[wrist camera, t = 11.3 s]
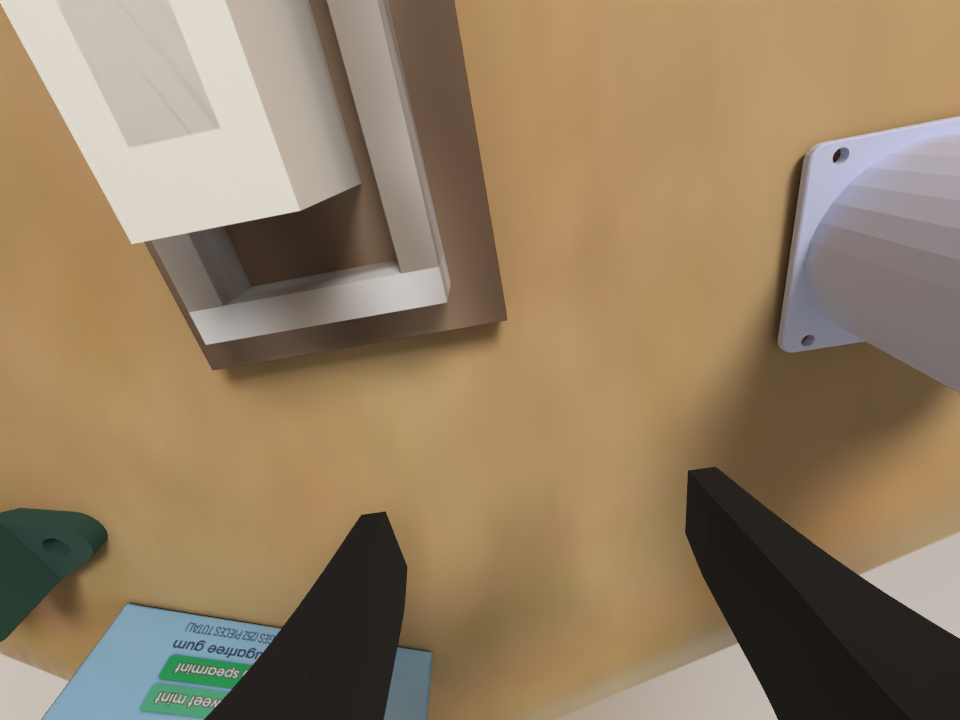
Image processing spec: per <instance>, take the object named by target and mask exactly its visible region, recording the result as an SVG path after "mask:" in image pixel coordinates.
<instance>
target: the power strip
mask: <svg viewBox="0 0 960 720" xmlns="http://www.w3.org/2000/svg"><path fill="white" fill-rule="evenodd" d="M0 3H1V5H2V7H3V9H4V10H5V12H6V14H7V16H8V18H9V20H10V22H11V23H12V25H13V27H14V29H15V31H16V33H17V34H18V36H19V38H20V40H21V42H22V44H23V45H24V47H25V49H26V51H27V53H28V55H29V56H30V58H31V60H32V62H33V64H34V66H35V67H36V69H37V71H38V73H39V75H40V77H41V78H42V80H43V82H44V84H45V86H46V88H47V89H48V91H49V93H50V95H51V97H52V99H53V100H54V102H55V104H56V106H57V108H58V110H59V111H60V113H61V115H62V117H63V119H64V121H65V122H66V124H67V126H68V128H69V130H70V132H71V133H72V135H73V137H74V139H75V141H76V143H77V144H78V146H79V148H80V150H81V152H82V154H83V155H84V157H85V159H86V161H87V163H88V165H89V166H90V168H91V170H92V172H93V174H94V176H95V177H96V179H97V181H98V183H99V185H100V187H101V188H102V190H103V192H104V194H105V196H106V198H107V199H108V201H109V203H110V205H111V207H112V209H113V210H114V212H115V214H116V216H117V218H118V220H119V221H120V223H121V225H122V227H123V229H124V231H125V232H126V234H127V236H128V238H129V240H130V242H131V243H132V244H135V243H140V242H145V241H150V240H155V239H160V238H165V237H170V236H176V235H181V234H186V233H191V232H196V231H201V230H206V229H211V228H216V227H221V226H226V225H231V224H236V223H241V222H246V221H252V220H257V219H262V218H267V217H272V216H277V215H282V214H287V213H292V212H297V211H301V210H303V209H306V208H308V207H310V206H312V205H315V204H317V203H319V202H321V201H323V200H326V199H328V198H330V197H332V196H335V195H337V194H339V193H341V192H343V191H346V190H348V189H350V188H352V187H355V186H357V185H359V184H361V181H360V178H359V174H358V171H357V167H356V164H355V160H354V157H353V153H352V150H351V146H350V143H349V139H348V136H347V132H346V129H345V126H344V122H343V119H342V115H341V112H340V108H339V105H338V101H337V98H336V94H335V91H334V87H333V84H332V80H331V77H330V73H329V70H328V66H327V63H326V59H325V56H324V52H323V49H322V45H321V42H320V39H319V35H318V32H317V28H316V25H315V21H314V18H313V14H312V11H311V7H310V4H309V0H0Z"/></svg>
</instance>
